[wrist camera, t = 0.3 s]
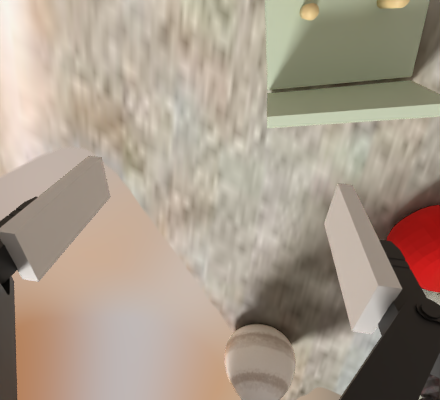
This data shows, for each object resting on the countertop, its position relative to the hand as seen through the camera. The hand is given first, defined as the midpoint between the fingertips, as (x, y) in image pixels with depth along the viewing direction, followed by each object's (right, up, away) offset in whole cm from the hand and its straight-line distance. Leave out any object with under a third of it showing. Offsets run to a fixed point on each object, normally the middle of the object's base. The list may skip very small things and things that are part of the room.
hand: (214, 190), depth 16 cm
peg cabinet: (+14, +20, +16) cm, 29 cm away
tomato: (+34, -5, +30) cm, 45 cm away
